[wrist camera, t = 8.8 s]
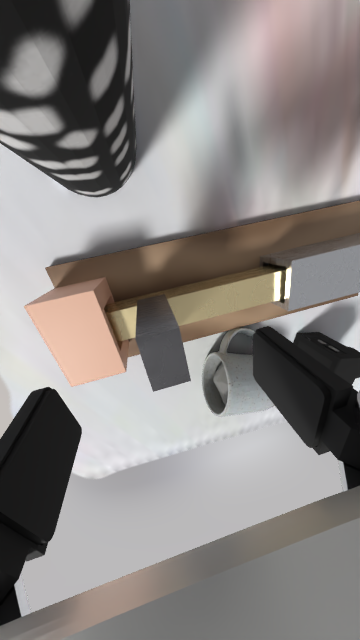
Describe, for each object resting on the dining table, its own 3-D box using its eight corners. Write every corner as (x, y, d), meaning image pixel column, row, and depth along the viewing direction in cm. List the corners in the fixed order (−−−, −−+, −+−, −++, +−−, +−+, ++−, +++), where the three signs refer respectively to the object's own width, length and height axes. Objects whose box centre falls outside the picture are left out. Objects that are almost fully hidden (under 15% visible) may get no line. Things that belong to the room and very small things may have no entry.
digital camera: (303, 383, 33) (341, 417, 27) (277, 385, 32) (310, 421, 26) (325, 331, 29) (376, 357, 23) (296, 332, 28) (341, 359, 22)
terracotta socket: (54, 288, 18) (23, 306, 14) (105, 276, 19) (93, 290, 14) (87, 353, 22) (71, 387, 17) (129, 342, 22) (126, 371, 17)
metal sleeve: (259, 256, 21) (291, 260, 17) (370, 230, 23) (427, 228, 18) (259, 297, 23) (288, 311, 19) (361, 271, 25) (410, 278, 20)
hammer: (86, 303, 19) (35, 364, 10) (285, 256, 21) (396, 270, 12) (100, 337, 20) (69, 416, 11) (283, 290, 23) (379, 325, 14)
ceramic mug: (245, 384, 31) (276, 426, 24) (197, 385, 29) (216, 431, 22) (265, 325, 27) (309, 355, 20) (212, 322, 25) (240, 353, 18)
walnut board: (49, 266, 19) (45, 267, 18) (371, 197, 22) (381, 196, 21) (95, 361, 24) (93, 366, 23) (350, 293, 27) (357, 295, 26)
